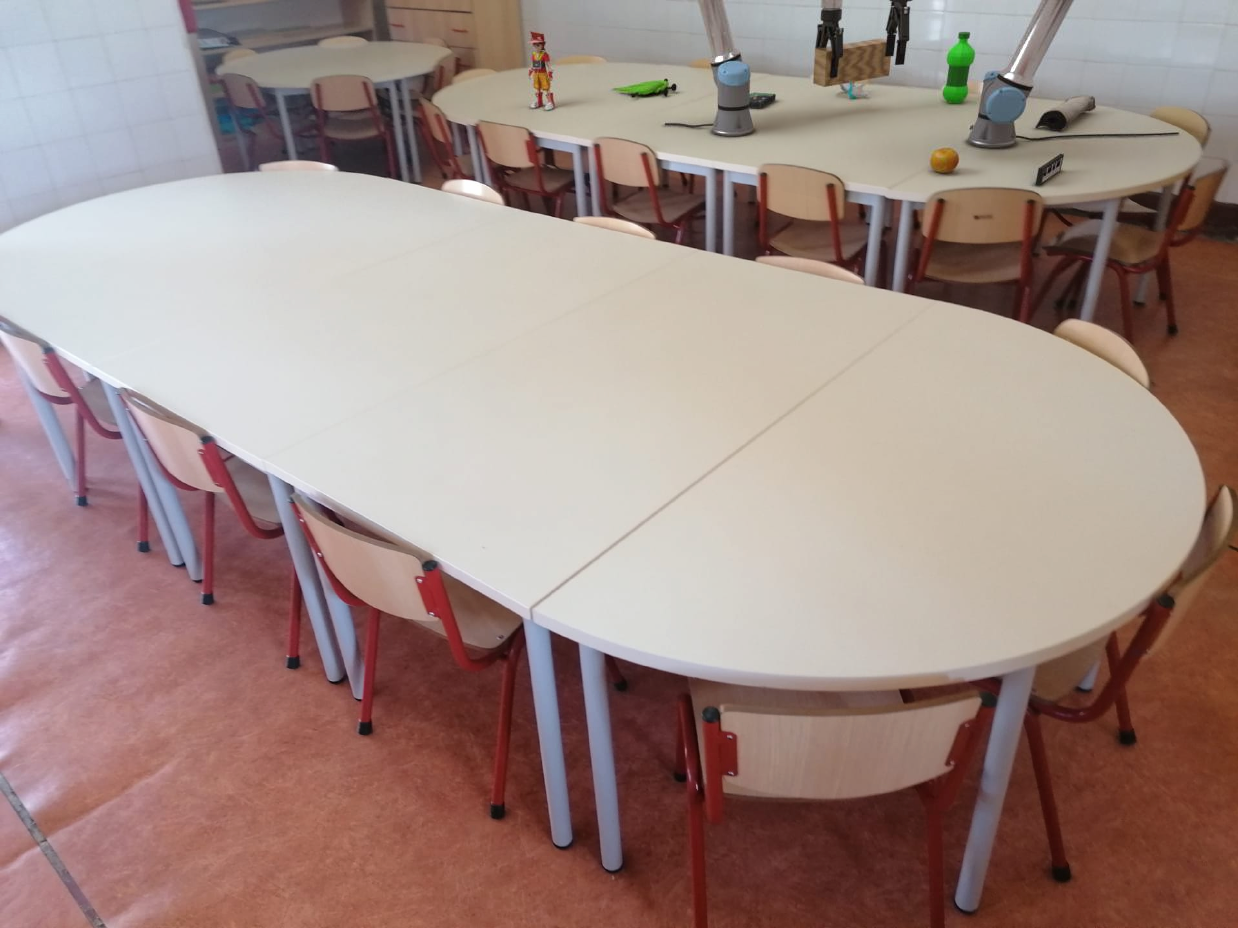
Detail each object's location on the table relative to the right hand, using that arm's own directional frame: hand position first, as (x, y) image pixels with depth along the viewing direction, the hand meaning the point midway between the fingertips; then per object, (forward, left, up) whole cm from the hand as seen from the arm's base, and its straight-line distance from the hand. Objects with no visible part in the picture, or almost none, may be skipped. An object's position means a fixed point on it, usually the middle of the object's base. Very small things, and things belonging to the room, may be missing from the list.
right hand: (894, 60), depth 289 cm
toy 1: (+114, -101, -29) cm, 155 cm away
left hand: (+6, -50, -14) cm, 52 cm away
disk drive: (+26, -78, -29) cm, 88 cm away
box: (-4, -53, -17) cm, 56 cm away
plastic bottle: (-48, -57, -29) cm, 80 cm away
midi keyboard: (-38, +40, -29) cm, 62 cm away
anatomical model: (-14, -81, -29) cm, 87 cm away
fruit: (-10, +26, -29) cm, 40 cm away
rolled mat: (-74, -19, -29) cm, 82 cm away
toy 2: (+70, -116, -29) cm, 138 cm away
